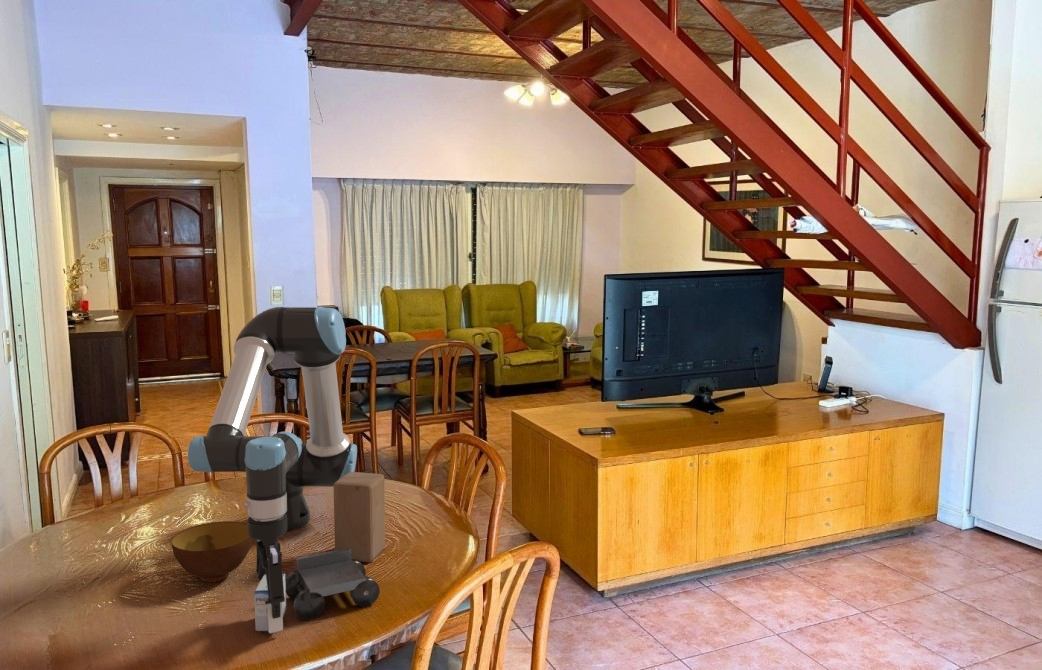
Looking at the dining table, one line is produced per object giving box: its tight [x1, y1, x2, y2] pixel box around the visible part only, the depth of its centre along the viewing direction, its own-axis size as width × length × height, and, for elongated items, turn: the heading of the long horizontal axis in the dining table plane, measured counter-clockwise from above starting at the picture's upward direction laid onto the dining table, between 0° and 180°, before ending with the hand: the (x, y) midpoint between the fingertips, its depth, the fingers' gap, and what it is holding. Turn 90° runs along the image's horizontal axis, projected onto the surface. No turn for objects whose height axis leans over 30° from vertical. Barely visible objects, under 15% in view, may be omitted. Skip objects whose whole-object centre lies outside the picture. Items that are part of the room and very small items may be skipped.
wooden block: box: [333, 471, 386, 563], centre depth 188 cm, size 10×10×20 cm
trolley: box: [285, 547, 381, 621], centre depth 164 cm, size 12×18×9 cm, turn 119°
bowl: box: [171, 520, 254, 583], centre depth 175 cm, size 18×18×10 cm
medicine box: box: [253, 573, 287, 632], centre depth 153 cm, size 8×4×9 cm, turn 5°
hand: (271, 620), depth 153 cm, fingers closed on medicine box, 9 cm apart
